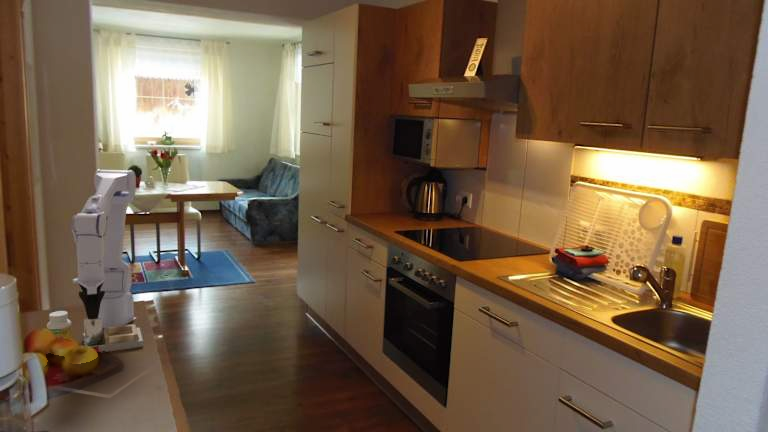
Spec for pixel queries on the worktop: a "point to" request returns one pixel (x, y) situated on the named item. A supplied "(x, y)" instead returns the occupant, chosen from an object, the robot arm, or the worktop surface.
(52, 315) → the supplement bottle
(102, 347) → the bay
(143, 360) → the worktop surface
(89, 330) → the handle peg
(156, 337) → the worktop surface
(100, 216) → the robot arm
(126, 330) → the crate
